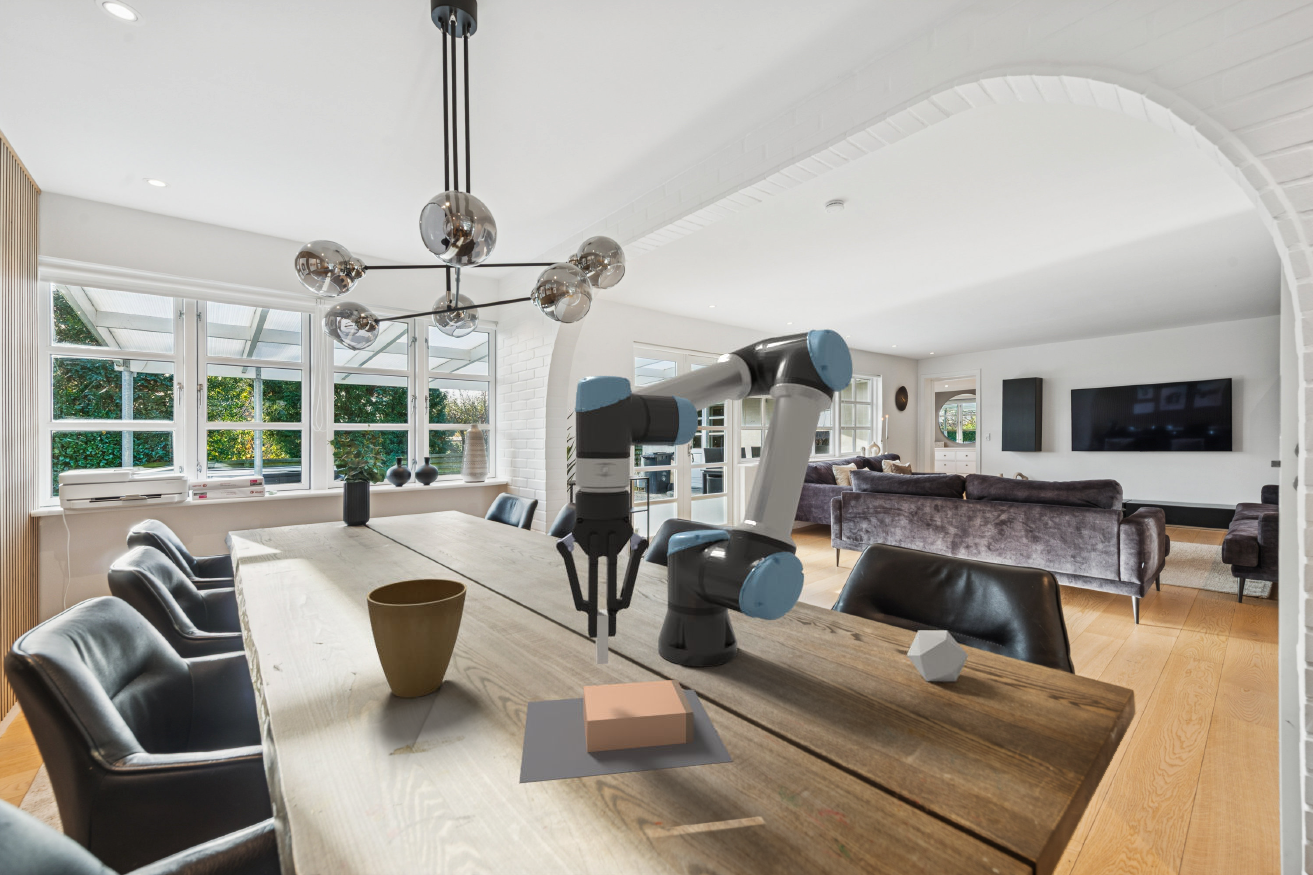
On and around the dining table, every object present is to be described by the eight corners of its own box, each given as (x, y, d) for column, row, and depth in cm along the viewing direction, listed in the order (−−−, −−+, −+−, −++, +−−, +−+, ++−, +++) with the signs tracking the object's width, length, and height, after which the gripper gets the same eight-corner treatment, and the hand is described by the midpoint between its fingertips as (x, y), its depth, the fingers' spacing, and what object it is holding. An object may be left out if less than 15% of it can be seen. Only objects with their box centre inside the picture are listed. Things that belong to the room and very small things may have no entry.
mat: (528, 705, 84) (528, 701, 84) (693, 693, 89) (693, 689, 89) (519, 787, 64) (519, 782, 64) (732, 765, 69) (732, 761, 69)
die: (963, 697, 89) (983, 643, 92) (913, 667, 91) (935, 615, 94) (938, 694, 97) (957, 644, 100) (892, 666, 98) (913, 618, 101)
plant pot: (343, 700, 85) (344, 597, 85) (415, 663, 99) (416, 575, 99) (419, 717, 80) (420, 608, 80) (484, 676, 94) (485, 583, 94)
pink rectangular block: (583, 686, 80) (677, 679, 83) (583, 713, 80) (676, 706, 83) (587, 720, 71) (693, 712, 73) (587, 751, 71) (693, 742, 73)
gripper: (554, 492, 71) (553, 674, 71) (653, 491, 74) (652, 667, 73) (555, 486, 79) (554, 652, 79) (645, 486, 81) (644, 646, 81)
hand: (601, 659), depth 76 cm, fingers closed
